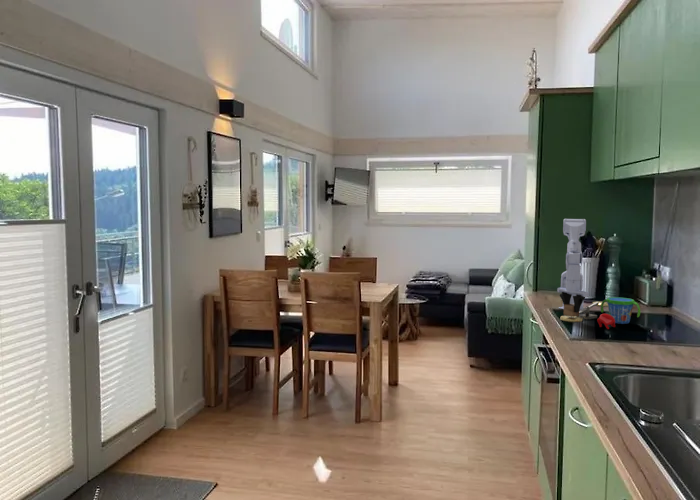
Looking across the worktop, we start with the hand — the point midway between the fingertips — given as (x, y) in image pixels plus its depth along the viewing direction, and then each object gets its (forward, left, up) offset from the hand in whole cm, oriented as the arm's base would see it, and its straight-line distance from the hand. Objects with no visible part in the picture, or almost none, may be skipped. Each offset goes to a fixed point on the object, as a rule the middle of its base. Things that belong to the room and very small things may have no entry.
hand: (571, 310), depth 243 cm
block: (0, 0, -2) cm, 2 cm away
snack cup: (-15, +13, -4) cm, 20 cm away
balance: (-11, 0, -4) cm, 11 cm away
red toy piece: (-1, +17, -4) cm, 18 cm away
